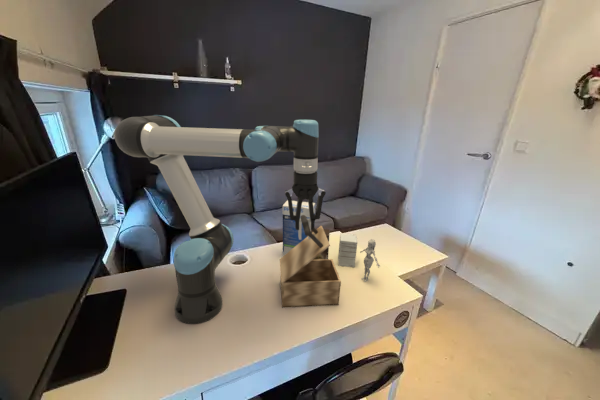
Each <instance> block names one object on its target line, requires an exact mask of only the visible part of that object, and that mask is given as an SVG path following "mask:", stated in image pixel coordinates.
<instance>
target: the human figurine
mask: <svg viewBox="0 0 600 400" xmlns="http://www.w3.org/2000/svg"><path fill="white" fill-rule="evenodd" d="M367 243H368V244H367V246H366V248H364V249H363V250H362V251H360V252H359V253H360V254H361V253H363V252H365V253H366V255H365V257H364V259H363V264H364V277H362V278H361V280H363V283H364V282H369V280H370V279H369V277H370V274H371V270H370V269H371V267H372V266H373V263H374V261H375V262H376V267H377V268H381V265H380V264H379V262H378V258H377V257H376V250H375V249H376V245H377V244H376V240H375V239H372V238H371V239H369V240H368V242H367ZM372 255H373V256H372Z"/></svg>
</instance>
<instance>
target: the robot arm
mask: <svg viewBox="0 0 600 400" xmlns="http://www.w3.org/2000/svg"><path fill="white" fill-rule="evenodd" d="M319 129H320V128H319V122H318V121H317V120H315V119H295V120H294V121H293V124H292V125H291V126H281V125H280V126H279V125H277V126H276V125H259V126H258V125H257V126H256V127H255V128H254V129H249V128H248V129H244V128H243V129H242V128H238V129H237V128H214V127H212V128H211V127H209V128H207V127H186V126H185V127H184V126H183V127H182V126H181V125H180V124H179V123H178V122H177V121H176V120H175V119H173V118H172V117H170V116H167V115H160V114H153V115H144V116H131V117H127V118H125V119H122V121H120V122H119V123H118V124H117V126H116V127H115V129H114V130H115V131H114V140H115V143H116V145H117V147H118V148H119V149H120V150H121V151H122V152H123V153H124V154H126V155H128V156H131V157H133V158H147V159H148V161H149V163H150V164H152V165H155V166H157V167H158V170H159V172H160V173H161V175H162V177H163V179H164V180H165V182H166V185H167V186H168V188H169V190H170V193H171V194H172V196H173V198H174V200H175V201H176V204H177V205H178V207H179V209H180V211H181V213H182V215H183V216H184V219H185V220H186V222H187V224H188V226H189V229H190V230H189V232H188V236H189V238H190V239H189V240H188V241H187V240H186V241H182V243H181V244H179V245H178V246H177V247H176V249H175V250H174V254H173V266H174V270H175V278H176V284H177V291H178V292H177V296H176V298H175V299H176V300H175V304H174V312H175V313H174V314H175V317H176V319H177V320H178V321H180V322H181V323H185V324H193V325H196V324H202V323H206V322H207V321H209V320H211V319H213V318H214V317H216V316H217V315H218V314H219V313H220V311H221V310H222V308H223V296H222V294H221V292H220V289H219V288H218V286H217V283H216V269H217V268H218V267H219V266H220V264H221V263H222V261H223V260H224V259H225V257H226V256H227V255H228V254H229V253H230V251H231V249H232V247H233V244H234V242H235V241H234V240H235V239H234V233H233V232H232V230H231V229H230V227H228V226H227V225H225V224H223V223H222V222H221V220H220V219H218V218H216V217H214V215H213V213H212V211H211V210H210V208H209V206H208V204H207V202H206V199H205V198H204V196H203V194H202V191H201V189H200V187H199V185H198V184H197V181H196V179H195V178H194V176H193V173H192V170H191V169H190V167H189V166H188V163H187V160H186V159H185V157H184V156H193V157H194V156H195V157H198V156H199V157H219V158H239V159H241V158H244V159H249V160H251V161H253V162H257V163H260V162H265V161H267V160H269V159H271V158H272V157H273V156H274V155H275V154H277V153H278V152H287V153H288V152H289V153H291V152H293V170H294V171H293V184H292V187H291V188H290V189H286V190H285V191H284V193H285V194H284V195H285V197H286V198H287V200H288V205H289V213H290V219H291V220H294V221H295V228H296V230H298V237H299V240H301V229H302V222H301V219H300V213H301V206H302V202H304V200H307V202H308V204H309V213H310V219H308V225H309V228H310V231H311V229H314V227H315V225H314V222H316V220H320V218H321V213H322V206H323V201H324V197H325V196H326V191H325V189H324V188H320V187H319V186H318V160H319V159H318V158H319V142H320V141H319V140H320V139H319V138H320V135H319V132H320V130H319ZM293 193H294V195H295V196H296V197H297V200H296V201H297V208H296V215H294V214H293V206H292V201H293V199H292V196H293ZM316 194H317V200H316V205H315V215H314V210H313V203H314V200H313V198H314V197H315V195H316ZM308 239H311V238H310V237H309V236H308Z"/></svg>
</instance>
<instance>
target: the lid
mask: <svg viewBox="0 0 600 400" xmlns="http://www.w3.org/2000/svg"><path fill="white" fill-rule="evenodd" d="M301 221H302V225H303V229H304V233H305V235H306V236H309V237H310V238H311V239H308V237H306V238H305V239H304V240H303V241H301V242H300V243H299V244H298V245H297V246H295V247H294V248H293V249H292V250H290V251H289V252H288V253H287V254H285V255H284V256H283V255H282V257H280V258H279V270H280V276H281V283H282V284H283V283H284V282H285V281H287V280H288V279H289V278H290V277H292V276H293V275H294V274H295V273H297V272H298V271H299V270H300V269H302V268H303V267H304V266H305V265H307V264H308V263H309V262H310V261H312V260H313V259H314V258H315V257H317V256H318V255H319V254H321V253H322V252H323V251H324V250H326V249H327V248H328V247H329V248H330V247H331V245H330V241H329V242H328V239H327V237H326V234H325V232H324V230H323V229H324V228H323V225H320V226H319V227H317V228H316V227H315V226H314V229H311V230H312V231H313V232H311V231H310V228H309V225H308V220H307V218H306V216H305V215H302V216H301Z"/></svg>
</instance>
